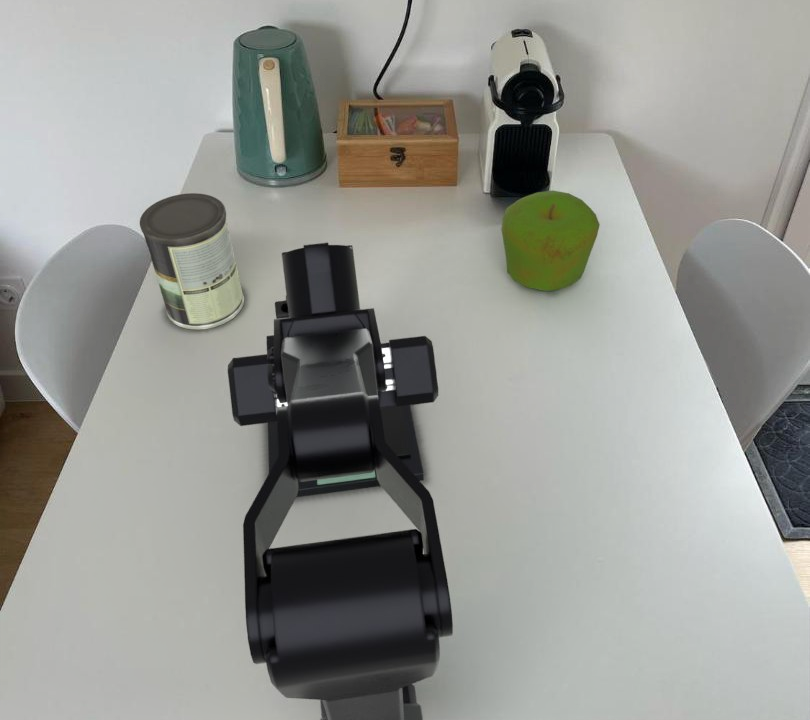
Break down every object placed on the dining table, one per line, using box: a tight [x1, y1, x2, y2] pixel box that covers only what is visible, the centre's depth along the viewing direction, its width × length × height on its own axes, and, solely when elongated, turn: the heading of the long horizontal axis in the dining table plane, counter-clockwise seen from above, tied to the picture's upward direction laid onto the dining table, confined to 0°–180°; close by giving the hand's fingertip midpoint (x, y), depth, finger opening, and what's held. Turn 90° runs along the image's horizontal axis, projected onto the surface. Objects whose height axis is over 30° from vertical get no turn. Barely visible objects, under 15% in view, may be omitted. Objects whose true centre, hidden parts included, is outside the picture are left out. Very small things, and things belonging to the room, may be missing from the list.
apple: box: [501, 190, 600, 292], centre depth 106 cm, size 12×12×11 cm
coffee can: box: [139, 192, 245, 331], centre depth 103 cm, size 10×10×14 cm
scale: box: [267, 405, 425, 498], centre depth 90 cm, size 18×16×2 cm
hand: (335, 383), depth 83 cm, fingers closed on can, 6 cm apart
